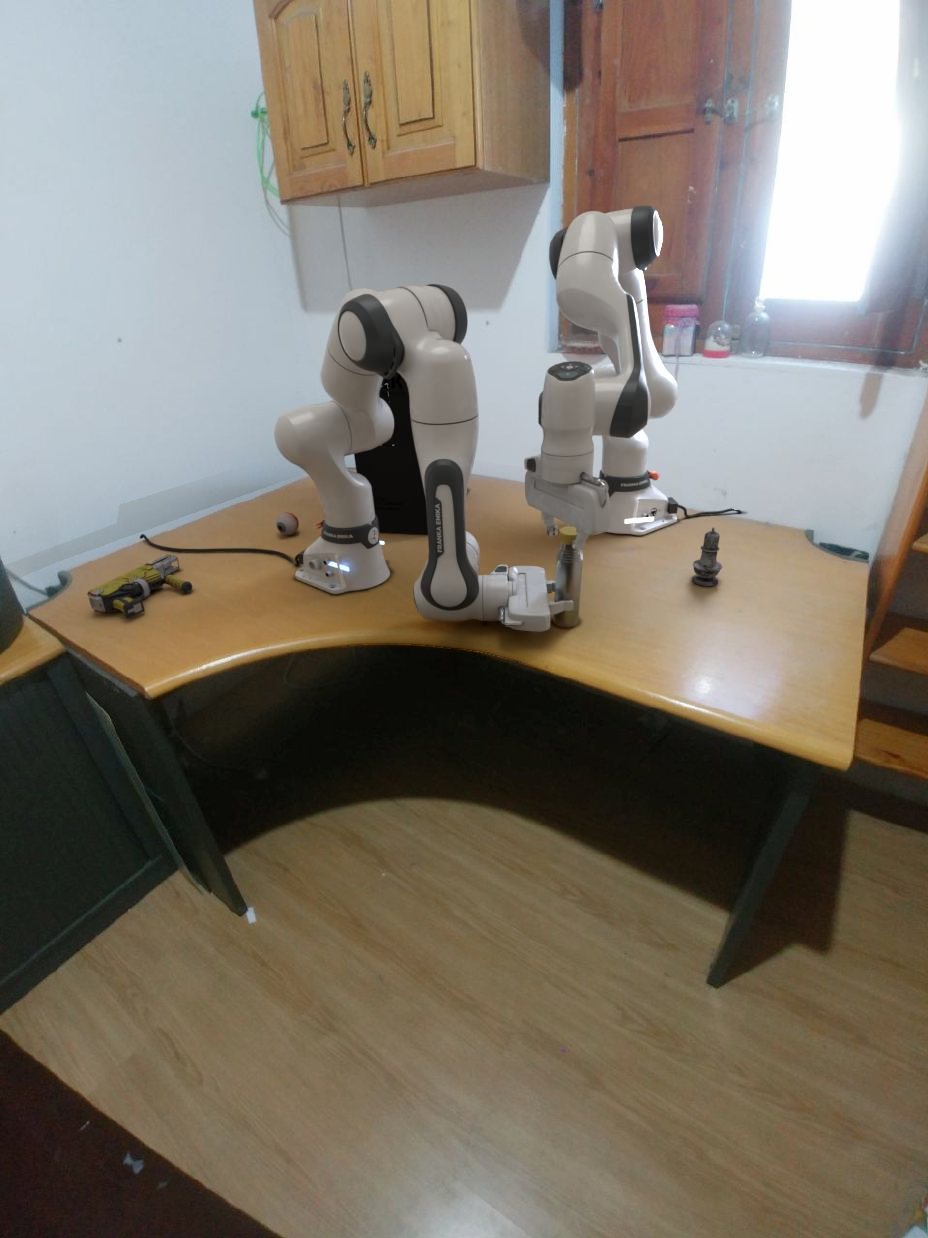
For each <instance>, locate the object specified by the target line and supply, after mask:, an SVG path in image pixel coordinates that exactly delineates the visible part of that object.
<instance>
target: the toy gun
mask: <svg viewBox="0 0 928 1238" xmlns="http://www.w3.org/2000/svg"><path fill="white" fill-rule="evenodd" d="M175 562H176V563H177V566H176V565H173V563H175ZM180 569H181V566H180V561H179V557H178V556H177V555H176V554H172V555H171V553H167V554H166V555H164V556H161V557H159V558H157V559H155V560H153V561H151V562H148V563H147V562H146V563H145V564H142V565H140V566H138V567H136V568H134V569H132V570H130V571H127V572H126V573H123V574H122V575H119V576H117V577H115V578H113V579H111V580H108V581H107V582H104V583H103V584H100V585H98V586H96V587H94V588H92V589H90V590H88V591H87V592H86V593H87V597H88V601H89V605H90V608H91V609H92V610H94V612H95V613H99V614H101V613H112V612H116V611H121V612H123V613H124V616H125V617H124V618H125V619H127V620H129V619H131V618H134V617H135V616H138V615H140V614H143V613H145V607H144V602H143V599H145V598H147V597H149V596H150V595H151V591H154V590H156V589H159V588H162V587H163V586H164V585H165V584H166V585H167V586H170V587H172V588H174V589H177V590H179V591H182V592H183V593H186V594H187V593H189V592H191V591H192V590H193V584H192V582H190V581H188V580H184V579H181V578H179V577H178V576H174V575H173V573H174V572H176V571H177V570H180Z"/></svg>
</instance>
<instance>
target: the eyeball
mask: <svg viewBox="0 0 928 1238" xmlns="http://www.w3.org/2000/svg"><path fill="white" fill-rule="evenodd" d="M299 525H300V522H299V519H298V517H297V516H296V515H295V514H294V513H292V512H287V511H286V512H282V513H280V514H279V515H278V516H277V517H276V520H275V527H276V529H277V530H278V531H279V532H280V533H281V534H282V535H285V536H286V535H287V536H289V535H293V534H295V533H296V532H297V531H298V529H299Z"/></svg>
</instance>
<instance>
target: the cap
mask: <svg viewBox="0 0 928 1238" xmlns="http://www.w3.org/2000/svg"><path fill="white" fill-rule="evenodd" d="M577 536H578V533H576V528H575V527H573V526H571V525H569V526H563V527H561V528H560V529H559V532H558V542H560V543H561V544H562V543H563V544H567V545H573V544H572V540H573V539H576V538H577Z"/></svg>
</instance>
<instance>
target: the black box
mask: <svg viewBox="0 0 928 1238" xmlns="http://www.w3.org/2000/svg"><path fill="white" fill-rule="evenodd" d="M460 345H462V343H461V344H460ZM379 397H380V398H381V399H383V400H384V401H385V402H386V403H387V405H388V406H389V407H390V409H391V411H392V414H393V418H394V430H393V434H392V436H391V438H390V440H389V441H387V442H385V443H383V444H381V445H380V446H378V447H375V448H373V449H371V450H368V451H364V452H360V453H356V454H353V458H354V463H355V464H354V465H355V470H356V471H355V472H356V473H359V474H361V475H363V476H364V477H365V478H366V479H367V480H368V481H369V483H370V484H371V487H372V494H373V502H374V510H375V514H376V515H377V518H378V524H379V533H393V534H394V533H395V534H416V535H417V534H419V535H428V527H427V511H426V499H425V493H424V488H423V483H422V478H421V473H420V468H419V463H418V459H417V454H416V450H415V445H414V439H413V433H412V426H411V416H410V399H409V391H408V386H407V384H406V381H405V380H404V378H403V377H402V376H401V375H400V374H399V373H398V372H396V374H395V375H394V376H393V377H392V378H391V379H385V378H383V381H382V385H381V388H380V392H379ZM468 490H469V487H468V488H467V491H468Z"/></svg>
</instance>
